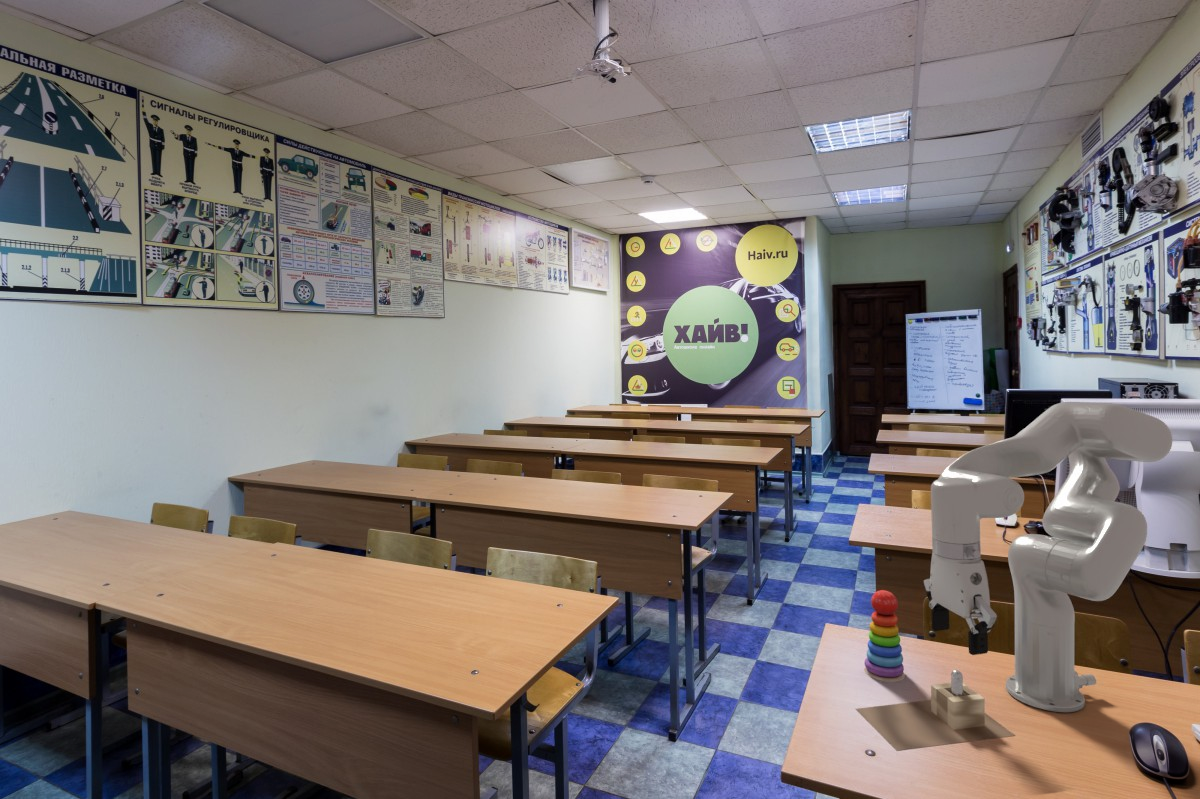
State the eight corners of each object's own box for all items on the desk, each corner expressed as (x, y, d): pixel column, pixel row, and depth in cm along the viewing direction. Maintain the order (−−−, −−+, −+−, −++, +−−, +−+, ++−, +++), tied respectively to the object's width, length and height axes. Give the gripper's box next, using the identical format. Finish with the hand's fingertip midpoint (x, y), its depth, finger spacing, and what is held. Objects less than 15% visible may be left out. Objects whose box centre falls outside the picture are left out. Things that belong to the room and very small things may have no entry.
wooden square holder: (961, 707, 117) (960, 681, 117) (984, 725, 111) (984, 698, 111) (931, 711, 116) (931, 685, 116) (953, 729, 110) (953, 702, 110)
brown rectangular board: (962, 703, 121) (962, 696, 121) (1015, 743, 108) (1015, 735, 108) (855, 716, 118) (855, 708, 118) (896, 759, 105) (896, 750, 105)
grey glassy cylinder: (958, 715, 115) (957, 667, 114) (965, 720, 113) (964, 672, 112) (949, 716, 114) (948, 668, 114) (956, 721, 113) (955, 673, 112)
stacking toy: (910, 690, 126) (909, 599, 125) (868, 687, 128) (867, 598, 127) (900, 671, 134) (898, 585, 133) (860, 669, 136) (859, 584, 135)
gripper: (1013, 561, 104) (1015, 661, 105) (942, 533, 121) (945, 619, 122) (971, 565, 103) (974, 666, 104) (906, 537, 120) (909, 623, 121)
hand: (958, 641), depth 113 cm, fingers open, 9 cm apart
